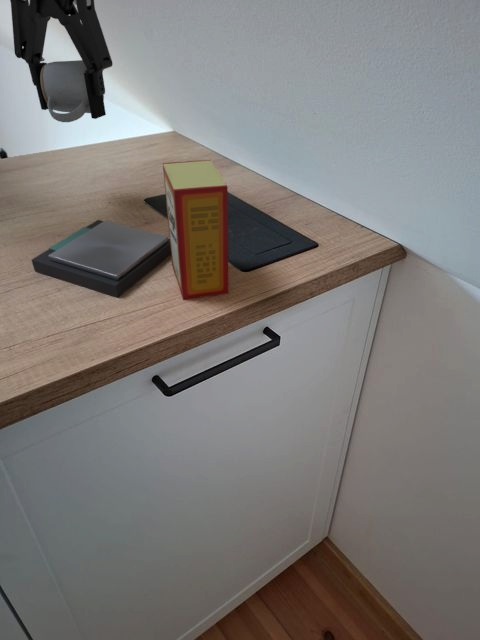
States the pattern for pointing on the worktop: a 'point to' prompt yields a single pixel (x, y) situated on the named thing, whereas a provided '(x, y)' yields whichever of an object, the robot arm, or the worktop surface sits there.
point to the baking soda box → (197, 227)
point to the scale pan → (109, 249)
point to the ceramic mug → (65, 89)
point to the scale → (95, 280)
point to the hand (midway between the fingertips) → (73, 112)
